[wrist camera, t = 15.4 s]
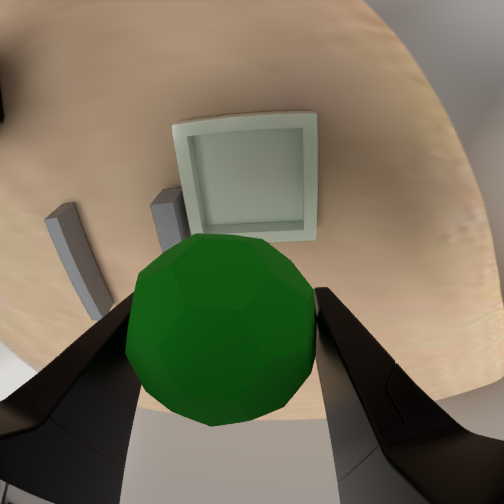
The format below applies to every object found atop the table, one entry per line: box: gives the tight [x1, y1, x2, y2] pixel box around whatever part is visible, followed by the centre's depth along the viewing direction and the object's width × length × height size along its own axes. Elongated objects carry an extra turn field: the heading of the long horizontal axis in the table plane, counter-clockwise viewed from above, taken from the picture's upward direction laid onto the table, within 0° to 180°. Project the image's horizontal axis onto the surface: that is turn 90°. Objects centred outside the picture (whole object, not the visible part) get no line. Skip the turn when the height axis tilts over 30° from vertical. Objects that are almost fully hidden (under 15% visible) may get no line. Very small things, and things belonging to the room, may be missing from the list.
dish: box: [171, 110, 318, 242], centre depth 17 cm, size 8×8×2 cm
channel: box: [44, 187, 191, 321], centre depth 23 cm, size 18×12×2 cm
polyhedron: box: [125, 233, 317, 427], centre depth 7 cm, size 5×5×5 cm
